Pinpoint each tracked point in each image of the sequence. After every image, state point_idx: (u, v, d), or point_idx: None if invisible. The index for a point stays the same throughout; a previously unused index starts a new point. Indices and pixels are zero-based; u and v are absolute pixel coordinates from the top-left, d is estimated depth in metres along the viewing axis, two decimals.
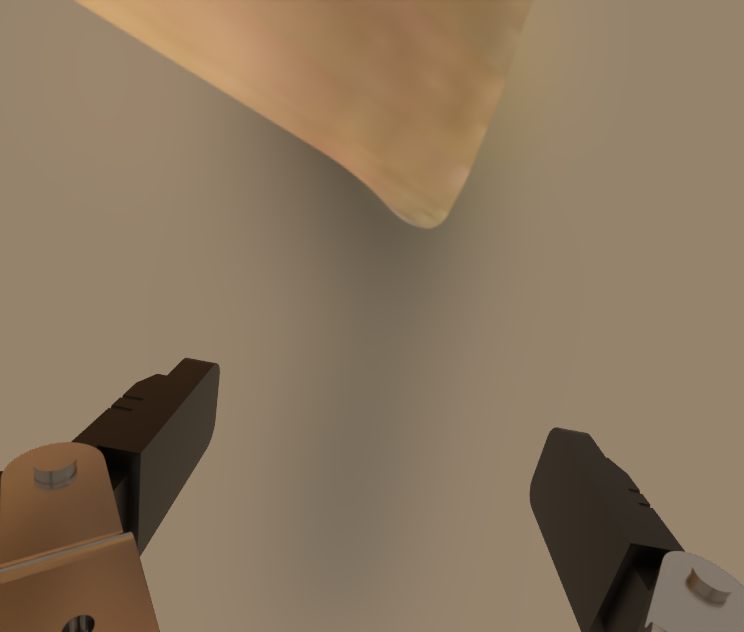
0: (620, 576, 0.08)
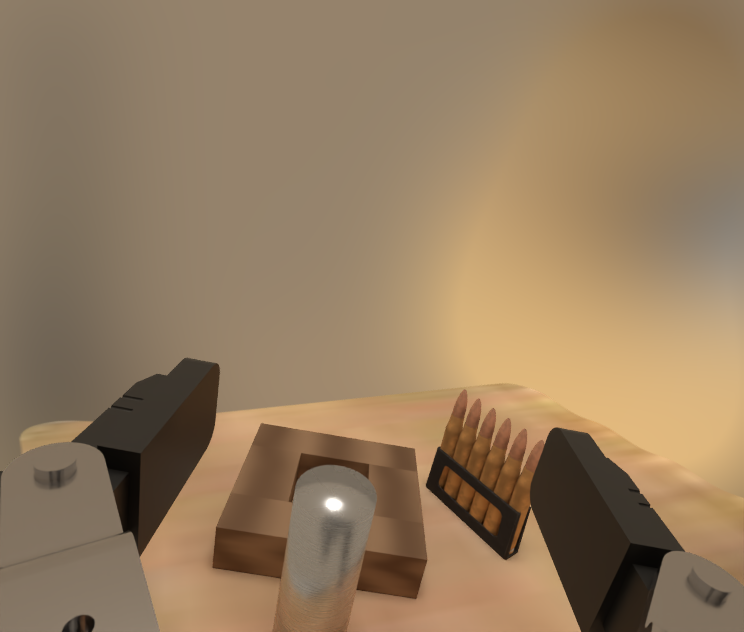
0: (620, 576, 0.08)
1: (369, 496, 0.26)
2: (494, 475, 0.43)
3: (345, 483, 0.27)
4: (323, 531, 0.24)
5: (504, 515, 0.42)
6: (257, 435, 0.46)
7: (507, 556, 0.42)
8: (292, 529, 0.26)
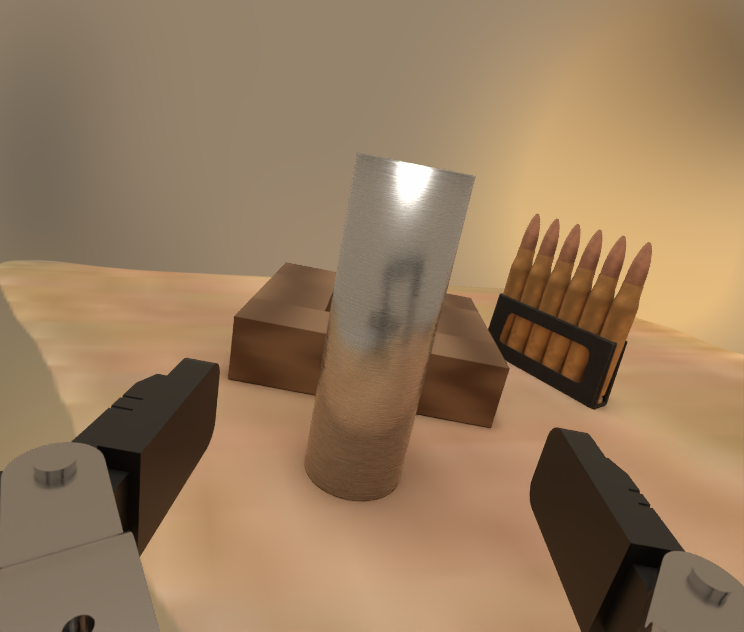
0: (620, 576, 0.08)
1: None
2: (578, 306, 0.35)
3: None
4: (404, 185, 0.16)
5: (593, 351, 0.33)
6: (282, 268, 0.38)
7: (596, 404, 0.34)
8: (351, 211, 0.18)
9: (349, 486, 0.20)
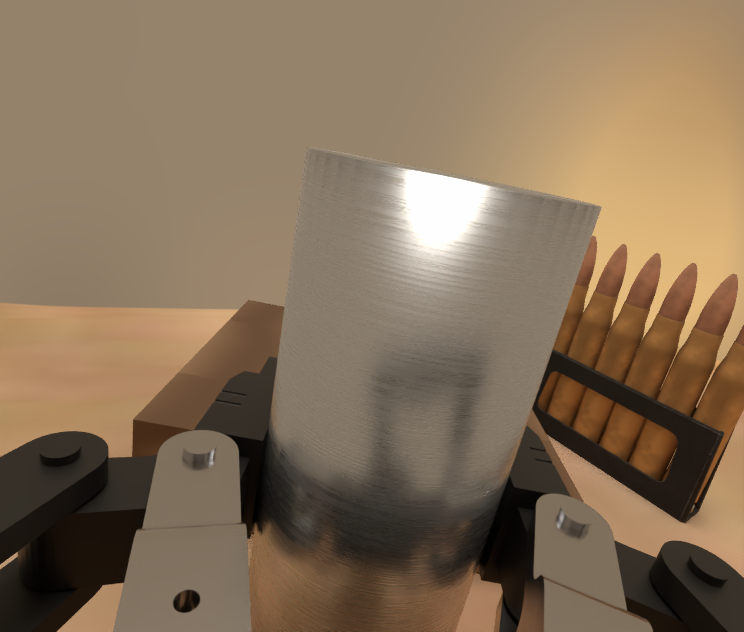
0: (508, 519, 0.09)
1: (562, 197, 0.08)
2: (659, 372, 0.24)
3: (467, 178, 0.08)
4: (429, 238, 0.06)
5: (684, 440, 0.23)
6: (240, 311, 0.27)
7: (688, 515, 0.23)
8: (295, 291, 0.07)
9: None
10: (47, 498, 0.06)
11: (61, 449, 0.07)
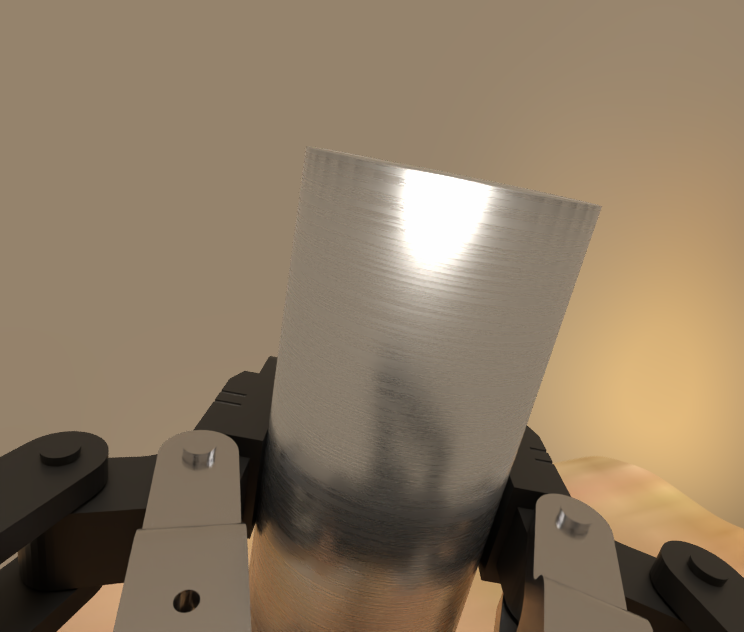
0: (507, 519, 0.09)
1: (562, 197, 0.08)
2: None
3: (467, 177, 0.08)
4: (429, 237, 0.06)
5: None
6: None
7: None
8: (294, 290, 0.07)
9: None
10: (47, 498, 0.06)
11: (61, 450, 0.07)
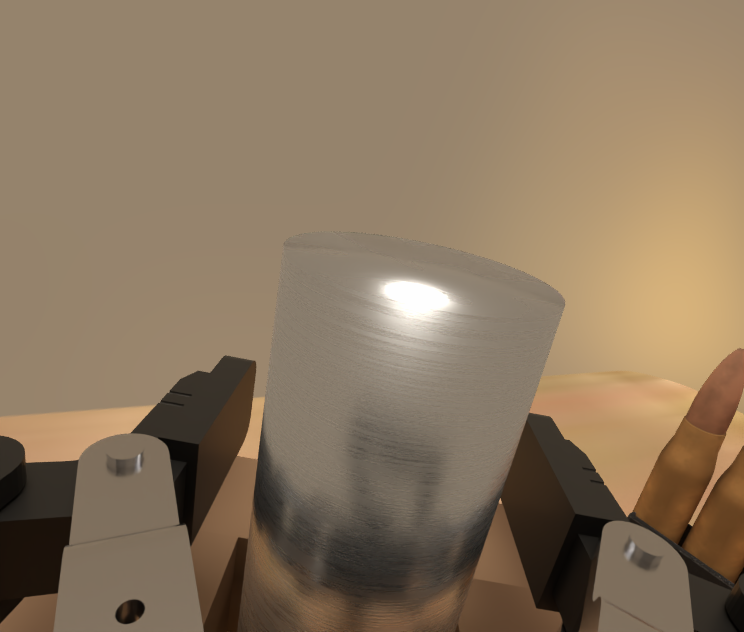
0: (567, 546, 0.08)
1: (531, 285, 0.08)
2: None
3: (442, 259, 0.09)
4: (395, 356, 0.06)
5: None
6: None
7: None
8: (273, 382, 0.07)
9: None
10: None
11: None
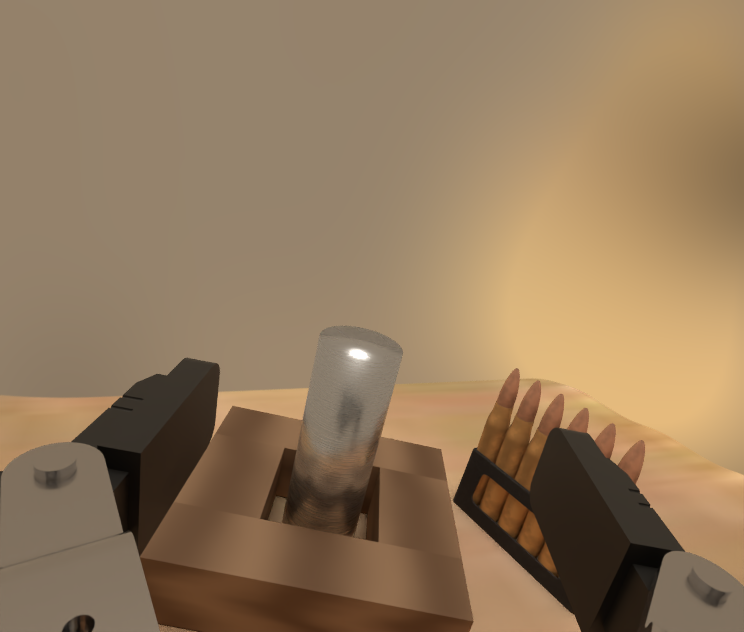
0: (620, 576, 0.08)
1: (395, 349, 0.26)
2: None
3: (369, 339, 0.26)
4: (349, 371, 0.24)
5: None
6: (225, 421, 0.33)
7: None
8: (315, 377, 0.25)
9: None
10: None
11: None
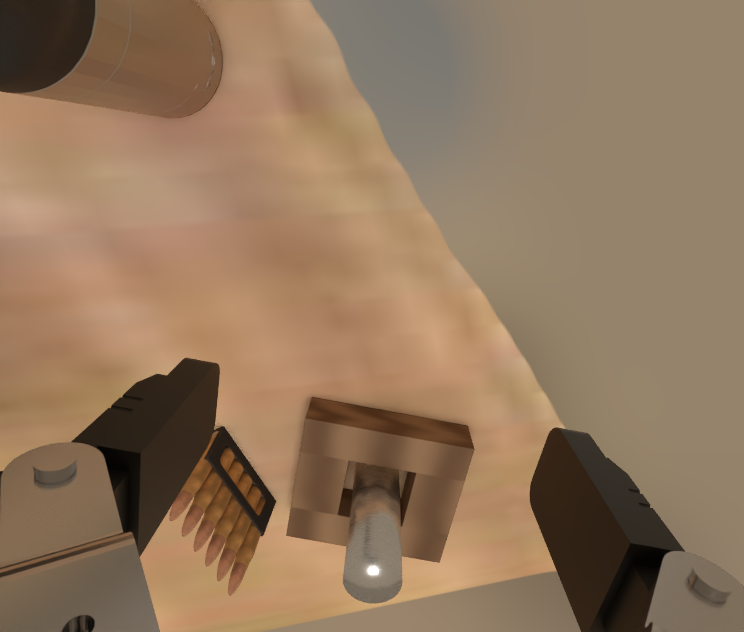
0: (620, 576, 0.08)
1: (348, 577, 0.37)
2: (218, 496, 0.44)
3: (365, 587, 0.37)
4: (382, 552, 0.37)
5: (218, 459, 0.46)
6: (442, 546, 0.48)
7: (220, 428, 0.48)
8: (400, 553, 0.38)
9: None
10: None
11: None
